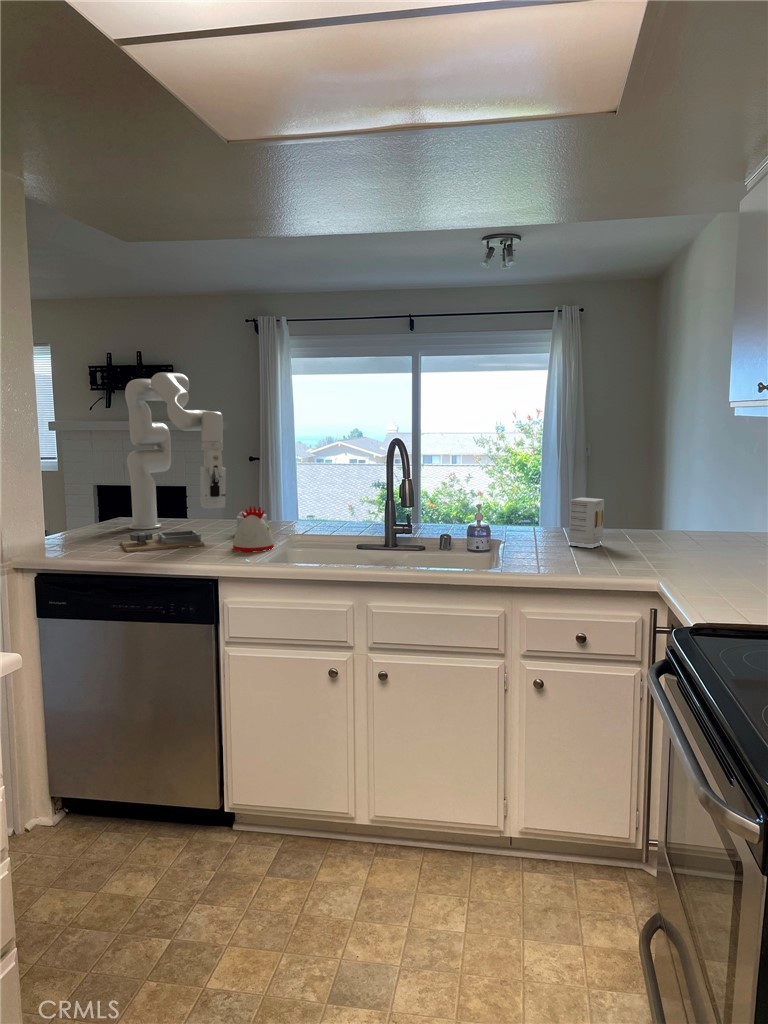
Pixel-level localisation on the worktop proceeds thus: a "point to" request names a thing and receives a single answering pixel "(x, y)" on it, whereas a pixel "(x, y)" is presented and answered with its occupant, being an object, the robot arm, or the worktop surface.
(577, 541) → the supplement box
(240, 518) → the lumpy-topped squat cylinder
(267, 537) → the white red crested helmet
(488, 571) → the worktop surface
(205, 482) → the skincare box
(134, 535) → the wheel
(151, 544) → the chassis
